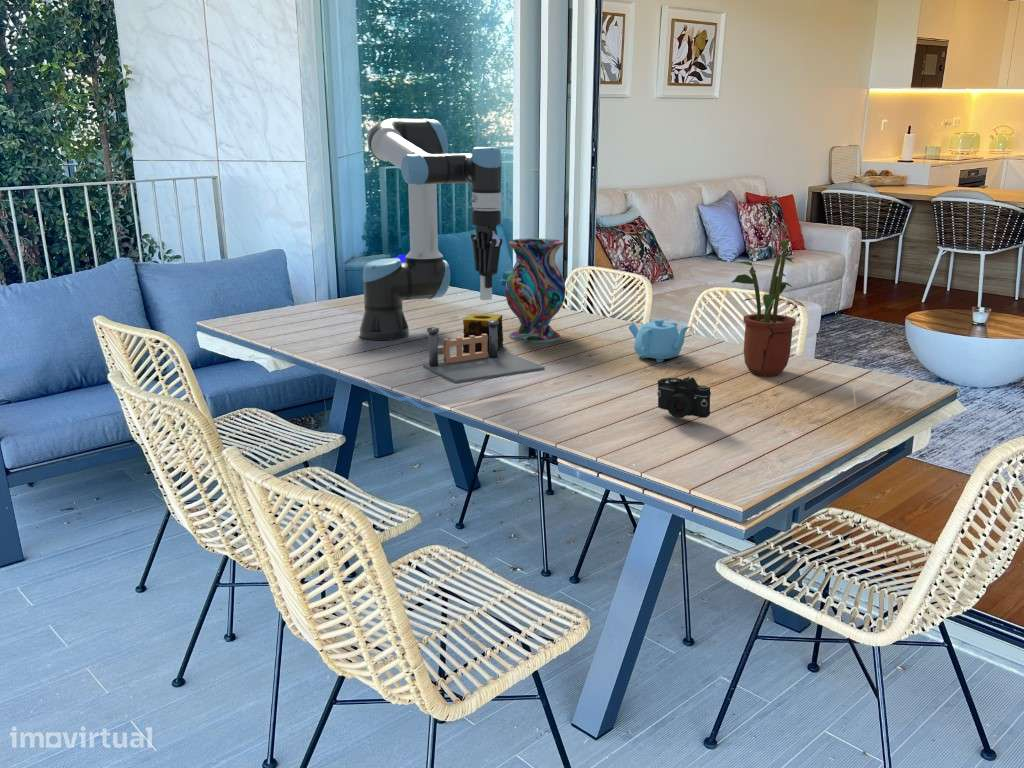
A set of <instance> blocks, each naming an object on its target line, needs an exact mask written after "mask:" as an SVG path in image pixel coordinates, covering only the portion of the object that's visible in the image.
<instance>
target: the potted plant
mask: <svg viewBox="0 0 1024 768" xmlns="http://www.w3.org/2000/svg"><path fill="white" fill-rule="evenodd" d="M780 245H781V247H782V252H781V256H780V254H777V256H776V258H775V262H774V266H773V270H772V275H771V279H770V285H769V290H768V294H767V293H764V294H763V297H762V299H761V294H760V288H759V283H758V276H757V272H756V271H757V270H755V268H754V266H753V263H752V262H751V261H747V260H746V261H745V260H743V261H738V262H737V264H743V265H748V266H751V267H750V269H749V270H748V272H749V274H750V275H748V274H738V275H736V277H735V278H734V279H733V280H732V281H730V283H731V284H733V283H739V284H744V285H746V284H747V285H752V284H753V287H754V293H755V294H754V295H755V298H754V297H753V298H745V299H744V300H743V301H742V302H745V301H749V300H755V301H756V313H752V314H750V313H749V314H746V315H744V316H743V317H742V318H743V320H742V321H743V324H745V326H744V338H743V339H744V340H743V341H744V342H743V358H744V364H745V366H746V367H747V369H748V371H750V373H751V374H753V373H754V374H753V375H756V374H757V375H756V376H760V375H761V377H774V376H775V375H776V376H778V375H779V374H782V373H783V371H784V370H785V368H787V366H788V362H789V359H790V356H791V348H792V339H793V338H792V337H793V327H794V326H796V324H797V319H796V318H794V317H793V316H788V315H783V314H778V309H779V300H780V296H781V295H782V293H783V292H784V290H785V289H786V288H787V286H789V287H791V288H793V286H792V285H791V284H790V283H789V282H785V281H783V277H785V278H787V276H786V274H785V273H784V272H785V271H784V270H785V264H786V260H787V261H788V262H791V263H794V261H793V260H796V258H795V257H788V256H787V252H788V246H789V245H790V240H789V241H788V240H781V241H780ZM778 269H779V270H778ZM761 300H762V301H763V305H764V308H765V309H764V313H762V303H761ZM772 310H773V311H772ZM776 376H775V377H776Z"/></svg>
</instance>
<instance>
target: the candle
mask: <svg viewBox="0 0 1024 768" xmlns="http://www.w3.org/2000/svg"><path fill="white" fill-rule="evenodd" d="M490 320H496V321H499V325H497V332H498V353H499V352H500V351H501V349H502V348H503V346H504V344H503V343H504V333H503V331H504V330H503V314H495V313H470V314H469V315H468V316H466V317H465V318H463V319H462V324H463V331H462V332H463V338H468V337H469V336H471V335H474V336H475V337H476V336H482V334H487V336H488V342H487V348H488V355H489V325H487V321H490ZM475 352H482V342H481V343H475ZM462 353H464V354H467V353H469V344H466V345H462Z"/></svg>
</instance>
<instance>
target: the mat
mask: <svg viewBox="0 0 1024 768" xmlns="http://www.w3.org/2000/svg"><path fill="white" fill-rule="evenodd" d="M422 367H423V368H425V369H427V370H429V371H431V372H433V373H435V374H437V375H439V376H441V377H442V378H444V379H447V380H449V381H451V382H452V383H455V384H456V383H463V382H464V383H465V382H470V381H477V380H478V381H479V380H483V379H490V378H495V377H496V378H498V377H502V376H511V375H515V374H517V375H518V374H524V373H529V372H535V371H542V370H545V369H546V367H545V366H543V365H541V364H538V363H535V362H532V361H531V360H528V359H525V358H524V357H522V356H521V357H520V356H519V355H517V354H514V353H511V352H504V353H498V357H497V358H489V354H488V357H487V358H480V359H473V360H466V361H459V362H452V363H444V361H440V362H439V361H438V366H436V367H431V366H429V363H425V364H424V363H423V364H422Z"/></svg>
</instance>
